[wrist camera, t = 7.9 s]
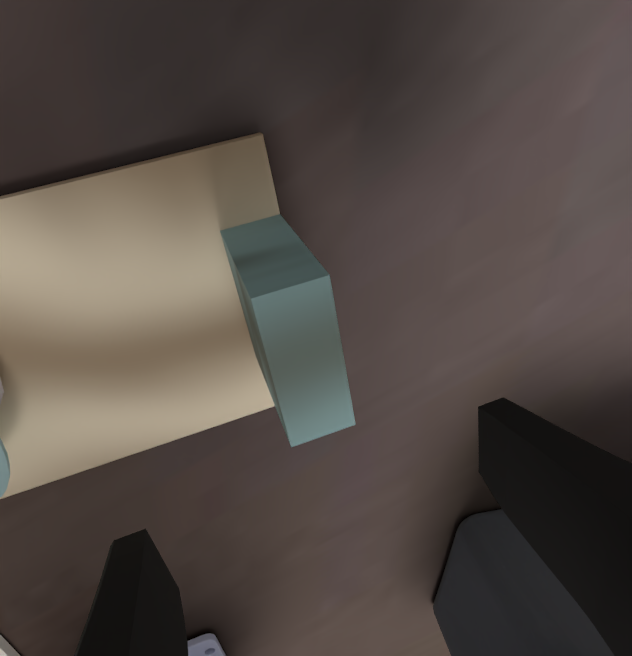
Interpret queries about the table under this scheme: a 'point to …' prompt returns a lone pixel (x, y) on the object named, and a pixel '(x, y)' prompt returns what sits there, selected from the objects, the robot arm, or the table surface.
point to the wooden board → (159, 313)
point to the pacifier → (3, 459)
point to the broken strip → (6, 648)
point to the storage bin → (507, 598)
